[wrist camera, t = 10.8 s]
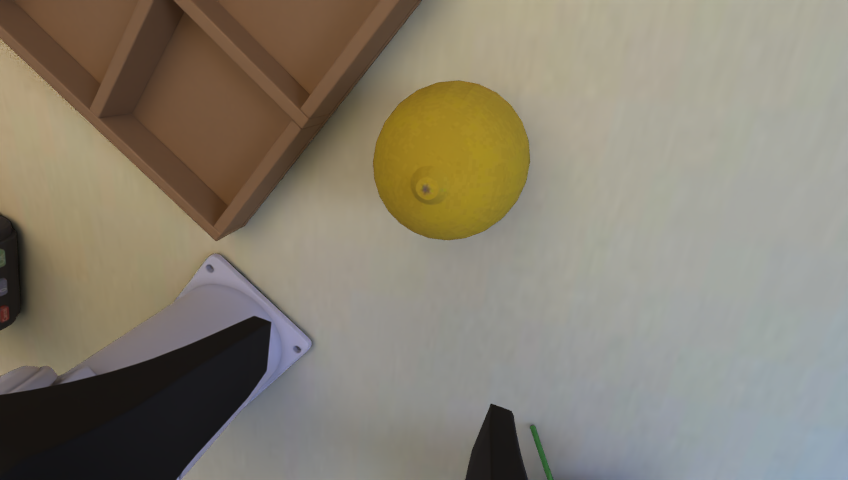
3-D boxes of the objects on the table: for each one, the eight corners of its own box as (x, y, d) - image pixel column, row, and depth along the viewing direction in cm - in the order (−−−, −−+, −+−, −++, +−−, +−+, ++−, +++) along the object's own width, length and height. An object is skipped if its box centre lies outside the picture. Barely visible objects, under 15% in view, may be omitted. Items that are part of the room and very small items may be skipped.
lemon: (420, 66, 19) (344, 71, 12) (547, 89, 18) (548, 109, 11) (403, 186, 21) (332, 251, 14) (516, 212, 20) (499, 295, 13)
